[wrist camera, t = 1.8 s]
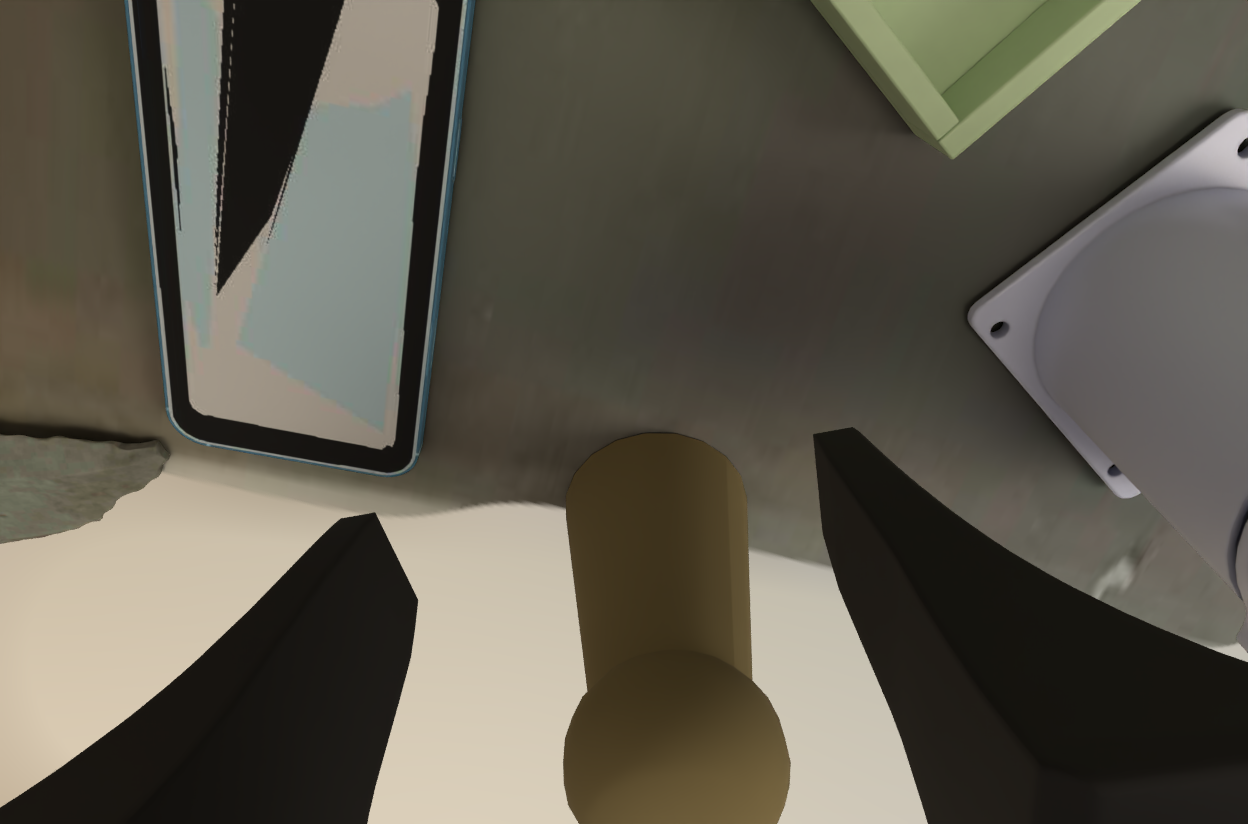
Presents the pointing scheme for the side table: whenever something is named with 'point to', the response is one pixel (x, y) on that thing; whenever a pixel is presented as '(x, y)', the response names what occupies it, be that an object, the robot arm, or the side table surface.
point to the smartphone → (299, 216)
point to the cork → (667, 643)
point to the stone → (67, 481)
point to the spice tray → (964, 55)
